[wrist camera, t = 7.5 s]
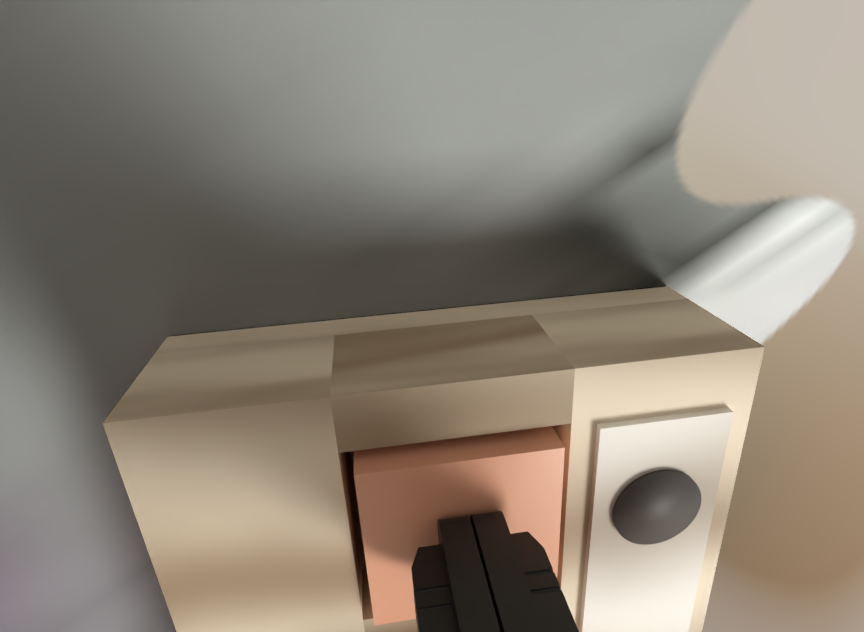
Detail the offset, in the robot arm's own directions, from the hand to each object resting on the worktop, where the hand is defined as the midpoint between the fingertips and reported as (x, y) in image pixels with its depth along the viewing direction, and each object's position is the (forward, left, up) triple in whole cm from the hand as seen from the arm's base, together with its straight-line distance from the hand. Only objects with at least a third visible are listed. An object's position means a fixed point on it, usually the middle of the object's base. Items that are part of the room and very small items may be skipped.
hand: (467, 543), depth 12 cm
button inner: (0, 0, -3) cm, 3 cm away
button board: (+7, 0, -4) cm, 8 cm away
